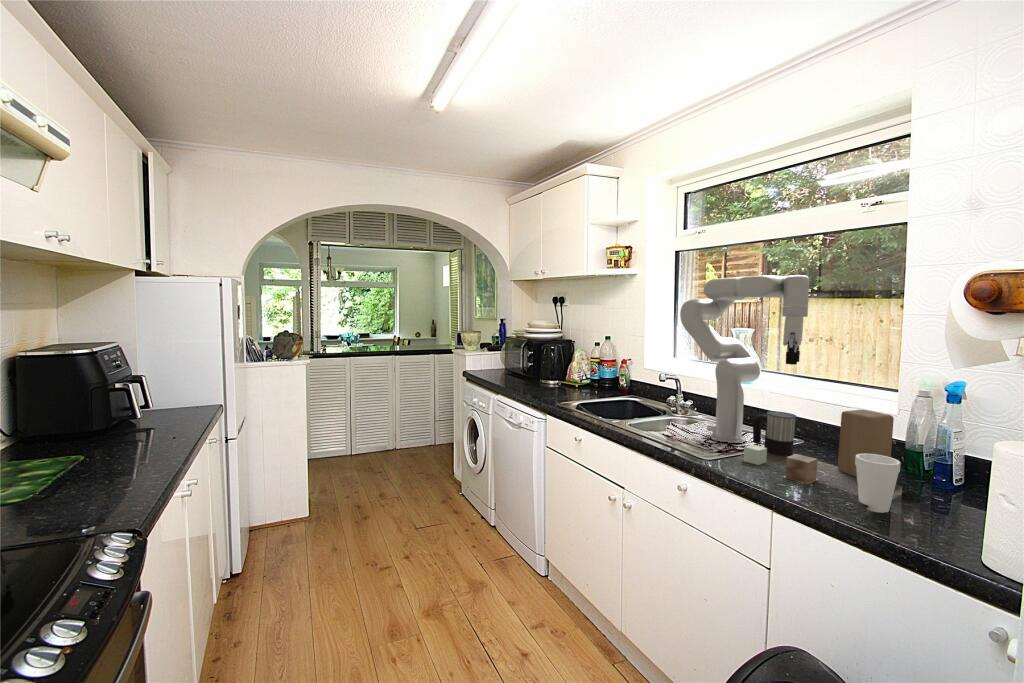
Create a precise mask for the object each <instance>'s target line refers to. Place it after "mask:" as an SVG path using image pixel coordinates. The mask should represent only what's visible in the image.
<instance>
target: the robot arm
mask: <svg viewBox="0 0 1024 683" xmlns="http://www.w3.org/2000/svg"><path fill="white" fill-rule="evenodd" d="M703 293H704V296H705V297H706V298H704V299H703V298H693V299H688V300H687V301H685V302H684V303H683V304H682V306H680V307H681V308H680V311H679V313H680V314H679V315H680V316H679V318H680V322H681V324H682V327H683V328H684V330H685V331H686V332H687V333H688V334H689V336H690V337H691V338H692V339H693V340H694V342H695V343H696V344H697V345H698V347H699V349H700V350H701V351H702V352H703V354H704V355H705V356H706V358H707V359H708V360H709V361H711V362H717V365H716V367H715V371H714V372H715V378H716V389H717V390H716V408H715V409H716V410H715V425H712V424H708V425H707V427H706V431H709V432H712V433H711V434H710V439H711V440H713V441H715V442H718V441H720V442H719V443H722V442H728V443H727V444H729V443H742V444H744V443H743V442H745V441H746V442H747V438H746V437H745V436H743V422H744V421H743V420H744V405H745V404H744V402H745V401H744V400H745V393H744V390H743V386H742V383H750V382H751V383H752V382H753V381H756V380H757V379H758V378H759V376H760V373H761V368H760V366H759V363H758V361H757V360H756V358H755V357H754V356H753V355H752V354H751V353H750V351H749V350H748V348H746V346H745V345H744V344H743V342H742V341H740V340H739V339H737V338H734V337H723V336H720V335H719V333H717V331H715V329H714V328H713V327H712V326H711V325H710V324H708V323H707V322H706V321H705V320H707V321H709V320H711V321H712V320H716V319H719V318H720V317H721V316H722V315H723V314H724V313H726V311H727V310H729V308H730V307H731V306H732V305H733V303H734V302H735V301H740V300H745V299H746V298H773V299H774V298H775V299H778V298H782V309H781V310H782V312H781V313H782V316H781V317H784V318H785V319H784V327H783V338H782V345H783V347H785V346H786V351H785V364H786V365H795V366H796V365H797V364H798V363H800V355H801V354H800V353H801V351H800V346H801V345H802V340H803V331H804V318H808V317H809V316H808V314H809V294H810V278H809V276H807V275H804V274H803V275H801V274H799V275H797V274H795V275H787V276H782V275H765V274H764V275H763V274H762V275H751V276H750V275H749V276H736V277H735V276H734V277H725V278H724V277H723V278H714V279H710V280H709V281H706V283H705V284H704V286H703ZM746 442H745V443H746Z"/></svg>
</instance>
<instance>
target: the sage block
mask: <svg viewBox="0 0 1024 683" xmlns="http://www.w3.org/2000/svg"><path fill="white" fill-rule="evenodd" d="M748 445H749V446H747V445H746V446H744V447H743V462H745V463H749V464H754V465H757V466H760V465H762V464H766V463H767V456H768V452H767V448H764V446H760V445H755V444H748Z"/></svg>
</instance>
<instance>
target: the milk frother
mask: <svg viewBox="0 0 1024 683" xmlns="http://www.w3.org/2000/svg"><path fill="white" fill-rule="evenodd" d="M796 418H797V415H796V414H793V413H790V412H786V411H776V410H770V411H767V412H766V414H765V413H763V414H758V415H757V416H755V417H754V418H753V421H752V440H753V443H754V444H760V443H761V441H762V422H763V421H766V422H765V433H764V434H765V435H764V445H763V447H764V448H767V454H771V455H776V456H783V457H789V456H792V455H794V440H795V428H796ZM749 445H750V444H747V445H746V446H749Z"/></svg>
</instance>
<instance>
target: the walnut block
mask: <svg viewBox="0 0 1024 683" xmlns="http://www.w3.org/2000/svg"><path fill="white" fill-rule="evenodd" d="M785 465H786V466H785V476H786V477H787V478H786V479H788V478H791V479H794V480H793V481H795V480H798V481H797V482H799V481H802V482H805V483H804V484H806V483H808V482H810V481H812V480H815V479H816V478H817V469H818V458H815V457H810V456H805V455H803V454H799V453H798V454H797V453H795V454H793V455H792V456H786V463H785ZM791 479H790V480H791ZM802 482H801V483H802Z"/></svg>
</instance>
